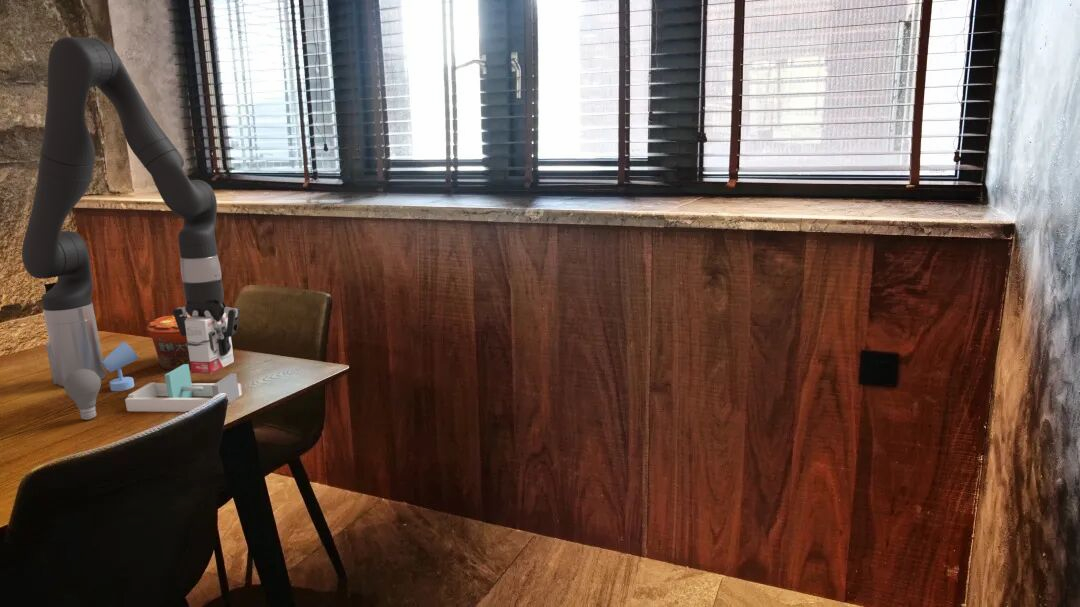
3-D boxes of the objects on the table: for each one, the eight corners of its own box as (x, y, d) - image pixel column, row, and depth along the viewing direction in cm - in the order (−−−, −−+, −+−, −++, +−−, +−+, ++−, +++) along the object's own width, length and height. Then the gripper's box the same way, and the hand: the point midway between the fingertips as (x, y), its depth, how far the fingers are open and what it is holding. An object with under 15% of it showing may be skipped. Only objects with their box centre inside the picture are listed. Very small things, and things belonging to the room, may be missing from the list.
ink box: (211, 374, 153) (204, 320, 150) (190, 373, 154) (182, 319, 151) (235, 361, 161) (229, 310, 158) (215, 360, 162) (208, 309, 159)
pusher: (169, 407, 144) (164, 374, 143) (188, 395, 151) (183, 364, 149) (194, 407, 144) (189, 375, 142) (212, 395, 150) (207, 364, 148)
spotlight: (137, 380, 162) (103, 389, 157) (130, 337, 160) (95, 344, 155) (146, 384, 159) (111, 394, 154) (138, 340, 157) (103, 348, 152)
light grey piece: (127, 411, 144) (122, 387, 143) (155, 394, 153) (151, 371, 152) (218, 411, 142) (214, 387, 141) (241, 394, 151) (238, 371, 150)
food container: (200, 374, 165) (193, 328, 162) (137, 372, 168) (130, 327, 165) (240, 352, 180) (234, 310, 178) (182, 351, 183) (175, 310, 180)
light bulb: (81, 413, 143) (71, 365, 141) (113, 411, 144) (104, 363, 142) (64, 425, 138) (54, 375, 135) (97, 423, 138) (88, 373, 136)
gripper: (158, 280, 150) (170, 359, 154) (225, 281, 148) (235, 360, 152) (179, 273, 157) (189, 348, 161) (243, 273, 156) (252, 349, 160)
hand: (211, 354), depth 157 cm, fingers closed on ink box, 5 cm apart
